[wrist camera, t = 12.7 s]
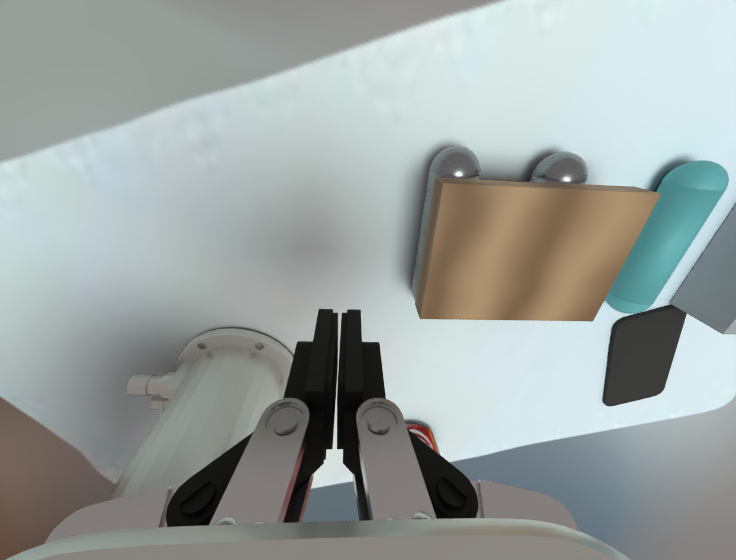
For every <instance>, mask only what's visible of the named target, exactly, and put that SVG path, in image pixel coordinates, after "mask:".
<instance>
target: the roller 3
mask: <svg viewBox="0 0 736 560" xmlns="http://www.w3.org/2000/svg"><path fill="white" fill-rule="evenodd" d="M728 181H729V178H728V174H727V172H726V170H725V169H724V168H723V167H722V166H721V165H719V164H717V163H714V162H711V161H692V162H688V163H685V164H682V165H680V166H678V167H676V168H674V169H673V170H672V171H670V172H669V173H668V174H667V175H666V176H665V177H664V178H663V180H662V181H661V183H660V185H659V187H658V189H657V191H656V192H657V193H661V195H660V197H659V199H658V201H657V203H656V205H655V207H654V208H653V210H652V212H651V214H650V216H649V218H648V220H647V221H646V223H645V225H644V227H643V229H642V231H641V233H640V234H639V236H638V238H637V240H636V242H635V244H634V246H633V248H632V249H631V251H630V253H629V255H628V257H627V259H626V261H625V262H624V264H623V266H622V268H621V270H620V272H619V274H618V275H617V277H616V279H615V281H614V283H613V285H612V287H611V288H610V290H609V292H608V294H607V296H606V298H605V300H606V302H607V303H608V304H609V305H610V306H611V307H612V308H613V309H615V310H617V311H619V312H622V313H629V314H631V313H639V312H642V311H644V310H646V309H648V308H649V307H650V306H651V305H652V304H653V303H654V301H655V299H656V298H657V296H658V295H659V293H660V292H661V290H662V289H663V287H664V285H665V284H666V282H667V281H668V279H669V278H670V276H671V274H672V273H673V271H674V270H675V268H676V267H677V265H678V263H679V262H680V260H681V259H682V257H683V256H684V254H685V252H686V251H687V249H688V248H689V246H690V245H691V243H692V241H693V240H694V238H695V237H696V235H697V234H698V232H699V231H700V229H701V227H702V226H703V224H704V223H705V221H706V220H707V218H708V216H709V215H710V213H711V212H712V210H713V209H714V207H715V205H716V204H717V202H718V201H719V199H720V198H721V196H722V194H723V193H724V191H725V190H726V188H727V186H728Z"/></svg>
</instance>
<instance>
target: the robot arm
mask: <svg viewBox="0 0 736 560" xmlns="http://www.w3.org/2000/svg"><path fill="white" fill-rule="evenodd" d="M337 366H338V313H333V309H319V311H318V317H317V323H316V328H315V334H314V339H313V342H305V341H298V342H297V345H296V349H295V353H294V357H293V356H292V355H291V353H290V352H289V351H288V350H287V349H286V348H285V347H283V346H282V345H281V344H280V343H278V342H277V341H275V340H273V339H271V338H270V337H268V336H265V335H263V334H260V333H257V332H254V331H249V330H245V329H235V328H227V329H217V330H213V331H208V332H206V333H203V334H201V335H199V336H197V337H196V338H194V339H193V340H191V341H190V342H189V343H188V345H187V346H186V347H185V348H184V349H183V351H182V353H181V354H180V356H179V357H178V361H177V364H176V372H168V373H166V374H165V375H164V376H156V375H134V376H132V377H131V378H130V379H129V381H128V383H127V386H126V391H127V394H128V395H130V396H149V395H152V394H160V395H154V396H153V397H152V399H151V401H150V408H151V409H164V410H163V412H162V413H161V415H160V416H159V418H158V419H157V421H156V423H155V424H154V426H153V427H152V429H151V430H150V432H149V433H148V435H147V437H146V438H145V440H144V441H143V443H142V444H141V446H140V447H139V449H138V451H137V452H136V454H135V455H134V457H133V458H132V460H131V461H130V463H129V465H128V466H127V468H126V469H125V471H124V472H123V474H122V475H121V477H120V478H119V480H118V482H117V483H116V485H115V486H114V488H113V490H112V491H111V492H110V494H109V496H108V497H107V499H106V500H105V502H101V503H97V504H93V505H89V506H87V507H84V508H82V509H79V510H77V511H76V512H74V513H73V514H71V515H70V516H68V517H67V518H65V519H64V520H63V521H62V522H61V523H60V524H59V525H58V526H57V527H56V528H55V529H54V530H53V531H52V533H51V534H50V536H49V537H48V538H47V540H46V542H45V543H44V545H41V546H38V547H35V548H32V549H29V550H27V551H24V552H22V553H19V554H17V555H15V556H13V557H10V558H8V559H6V560H630V559H629V558H627V557H626V556H624V555H623V554H622V553H620V552H619V551H617V550H616V549H614V548H612V547H610V546H609V545H607V544H605V543H603V542H602V541H600V540H597V539H595V538H593V537H591V536H589V535H587V534H584V533H582V532H579V530H578V527H577V525H576V523H575V521H574V519H573V517H572V515H571V514H570V513H569V512H568V510H567V509H566V508H565V507H564V506H563V505H562V504H561V503H559V502H558V501H557V500H555V499H554V498H552V497H550V496H547V495H545V494H541V493H536V492H532V491H528V490H524V489H519V488H515V487H511V486H507V485H503V484H499V483H494V482H490V481H486V480H481V479H479V481H478V482H476V481H471V480H469V479H468V478H467V477H466V476H465V475H464V474H463V473H462V472H460V471H459V470H458V469H457V468H455V467H454V466H453V465H452V464H450V463H449V462H448V461H447V460H445V459H444V458H443V457H442V456H441V455H439V454H438V453H437V452H436V451H434V450H433V449H432V448H431V447H429V446H428V445H427V444H426V443H425V442H423V441H422V440H421V439H420V438H418V437H417V436H416V435H415V434H413V433H412V432H411V431H410V430H408V429H407V427H406V424H405V421H404V418H403V415H402V413H401V411H400V409H399V408H398V407H397V406H396V405H395V404H394V403H393V402H391V401H390V400H387V399H386V397H385V389H384V380H383V371H382V362H381V354H380V345H379V342H362V335H361V310H347V313H342V320H341V338H340V355H339V372H338V393H337V449H343V464H344V465H345V466H346V467H347V468H348V469H349V470H350V471H351V472H352V473H353V481H354V489H355V496H356V503H357V511H358V518H359V521H334V522H302V521H303V517H304V512H305V508H306V504H307V501H308V497H309V493H310V489H311V485H312V481H313V473H314V472H315V471H316V470H317V469H318V468H319V467H320V466H321V465H322V464H323V463H324V460H326V449H332V446H333V430H334V415H335V399H336V383H337Z"/></svg>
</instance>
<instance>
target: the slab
mask: <svg viewBox="0 0 736 560" xmlns="http://www.w3.org/2000/svg"><path fill="white" fill-rule="evenodd" d="M660 195H661V193H657V192H653V191H649V190H645V189H641V188H637V187H625V186H604V185H583V184H561V183H540V182H519V181H498V180H477V179H456V178H435V181H434V188H433V194H432V200H431V207H430V213H429V219H428V226H427V232H426V238H425V245H424V251H423V257H422V263H421V270H420V276H419V282H418V289H417V295H416V301H415V306H416V309H417V311H418V314H419V317H420V319H466V320H543V321H593V320H594V318H595V316H596V315H597V313H598V311H599V309H600V307H601V305H602V303H603V301H604V300H605V298H606V296H607V294H608V292H609V290H610V288H611V287H612V285H613V283H614V281H615V279H616V277H617V275H618V274H619V272H620V270H621V268H622V266H623V264H624V262H625V261H626V259H627V257H628V255H629V253H630V251H631V249H632V248H633V246H634V244H635V242H636V240H637V238H638V236H639V234H640V233H641V231H642V229H643V227H644V225H645V223H646V221H647V220H648V218H649V216H650V214H651V212H652V210H653V208H654V207H655V205H656V203H657V201H658V199H659V197H660Z"/></svg>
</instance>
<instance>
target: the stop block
mask: <svg viewBox="0 0 736 560" xmlns="http://www.w3.org/2000/svg"><path fill="white" fill-rule="evenodd" d="M670 304H672V305H674V306H675V307H677V308H679V309H680V310H682V311H684V312H686V313H687V314H689V315H691V316H692V317H694V318H696V319H698V320H699V321H701V322H703V323H704V324H706V325H708V326H710V327H711V328H713V329H715V330H717V331H718V332H720V333H722V334H736V204H735V206H734V207H733V209H732V210H731V212H730V213H729V215H728V216H727V218H726V219H725V221H724V222H723V224H722V225H721V227H720V228H719V230H718V231H717V233H716V234H715V236H714V237H713V239H712V240H711V242H710V243H709V245H708V246H707V248H706V249H705V251H704V252H703V254H702V255H701V257H700V258H699V260H698V261H697V263H696V264H695V265H694V267H693V268H692V270H691V271H690V273H689V274H688V276H687V277H686V279H685V280H684V282H683V283H682V285H681V286H680V288H679V289H678V291H677V292H676V294H675V295H674V297H673V298H672V300H671V301H670Z"/></svg>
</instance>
